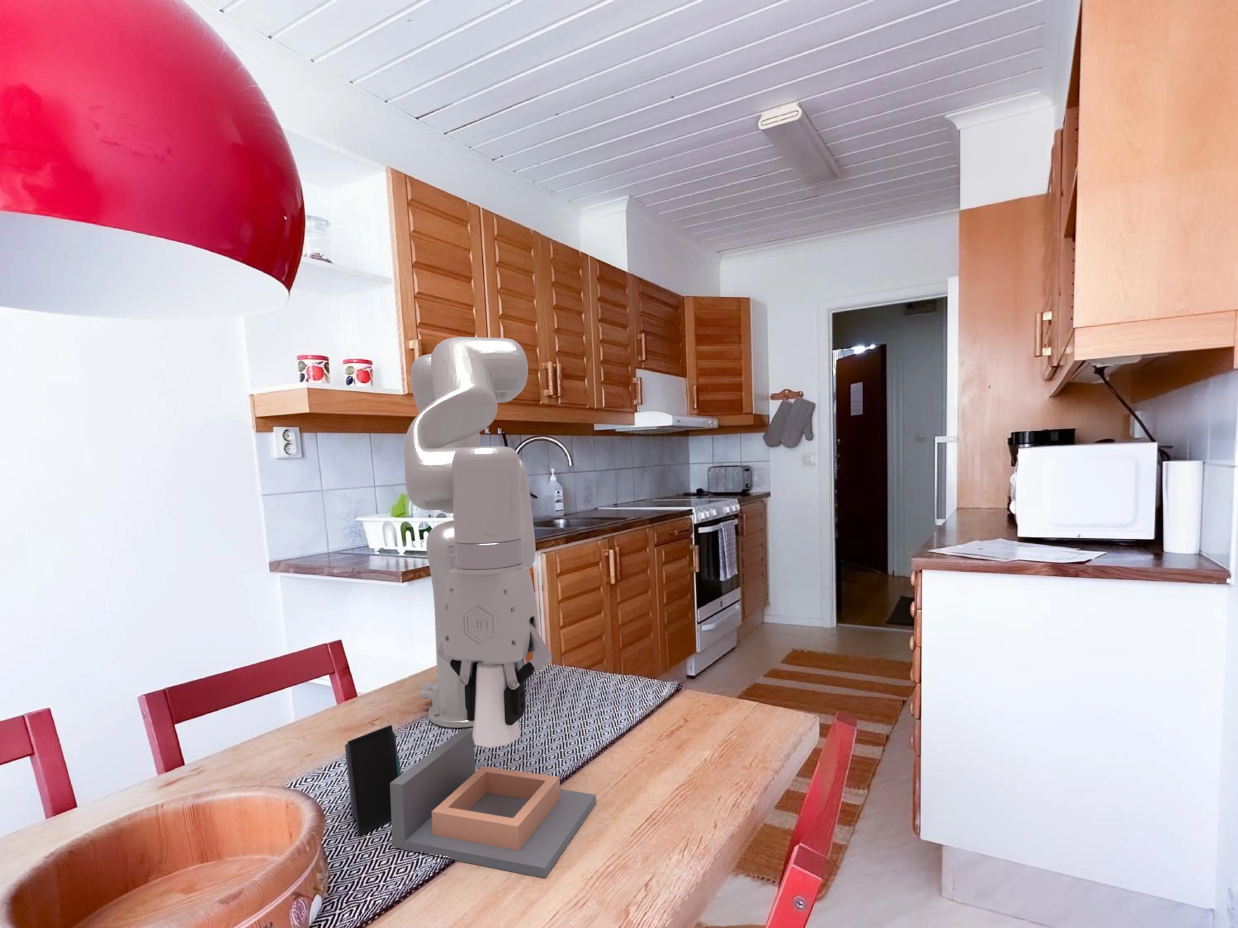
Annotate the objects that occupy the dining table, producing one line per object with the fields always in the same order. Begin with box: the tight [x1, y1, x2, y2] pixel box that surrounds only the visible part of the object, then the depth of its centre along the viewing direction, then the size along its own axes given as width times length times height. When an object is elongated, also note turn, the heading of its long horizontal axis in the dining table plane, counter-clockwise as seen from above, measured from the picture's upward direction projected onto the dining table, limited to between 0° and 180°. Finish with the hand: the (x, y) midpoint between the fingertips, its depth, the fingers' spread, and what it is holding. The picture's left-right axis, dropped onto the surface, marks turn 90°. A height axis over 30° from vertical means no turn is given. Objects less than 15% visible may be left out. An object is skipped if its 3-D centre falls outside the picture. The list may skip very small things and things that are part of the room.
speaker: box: [344, 724, 402, 837], centre depth 75 cm, size 8×6×10 cm
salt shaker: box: [472, 662, 521, 749], centre depth 71 cm, size 5×5×11 cm
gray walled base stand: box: [390, 728, 597, 879], centre depth 71 cm, size 18×14×7 cm
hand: (495, 716), depth 71 cm, fingers closed on salt shaker, 4 cm apart
